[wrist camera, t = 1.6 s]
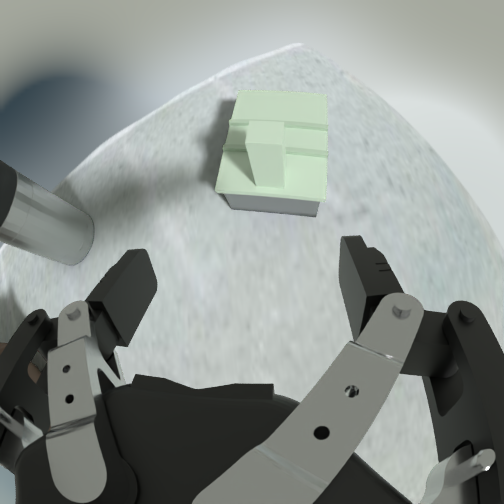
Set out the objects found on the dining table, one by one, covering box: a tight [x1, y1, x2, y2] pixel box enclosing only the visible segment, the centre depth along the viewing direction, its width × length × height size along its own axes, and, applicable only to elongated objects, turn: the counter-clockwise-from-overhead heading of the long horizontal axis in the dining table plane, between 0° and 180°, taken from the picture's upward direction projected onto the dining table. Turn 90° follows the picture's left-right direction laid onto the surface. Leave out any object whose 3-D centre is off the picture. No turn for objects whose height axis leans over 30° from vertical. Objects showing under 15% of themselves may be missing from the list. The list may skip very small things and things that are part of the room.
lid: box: [215, 90, 328, 202], centre depth 27 cm, size 12×16×9 cm
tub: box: [224, 193, 320, 217], centre depth 34 cm, size 11×15×6 cm
